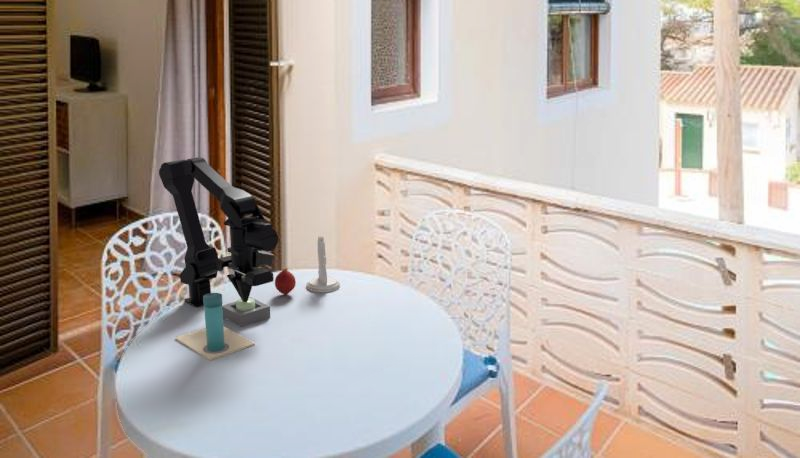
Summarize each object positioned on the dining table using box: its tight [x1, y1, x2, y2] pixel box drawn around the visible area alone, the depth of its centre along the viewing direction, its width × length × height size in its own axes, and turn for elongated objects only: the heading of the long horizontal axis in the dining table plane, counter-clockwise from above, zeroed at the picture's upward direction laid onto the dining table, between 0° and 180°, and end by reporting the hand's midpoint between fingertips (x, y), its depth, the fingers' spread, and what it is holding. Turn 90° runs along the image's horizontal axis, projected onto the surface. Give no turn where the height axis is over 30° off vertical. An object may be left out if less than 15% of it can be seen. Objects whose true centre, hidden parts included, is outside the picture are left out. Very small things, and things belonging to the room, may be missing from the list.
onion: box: [274, 267, 297, 296], centre depth 199 cm, size 6×6×8 cm
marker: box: [203, 292, 225, 352], centre depth 163 cm, size 4×4×13 cm
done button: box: [235, 297, 256, 312], centre depth 184 cm, size 5×5×4 cm
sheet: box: [174, 326, 256, 361], centre depth 169 cm, size 16×12×1 cm
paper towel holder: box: [305, 235, 341, 293], centre depth 205 cm, size 10×10×15 cm
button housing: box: [222, 296, 271, 327], centre depth 184 cm, size 9×9×3 cm
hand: (245, 301), depth 183 cm, fingers closed, pressing on done button
